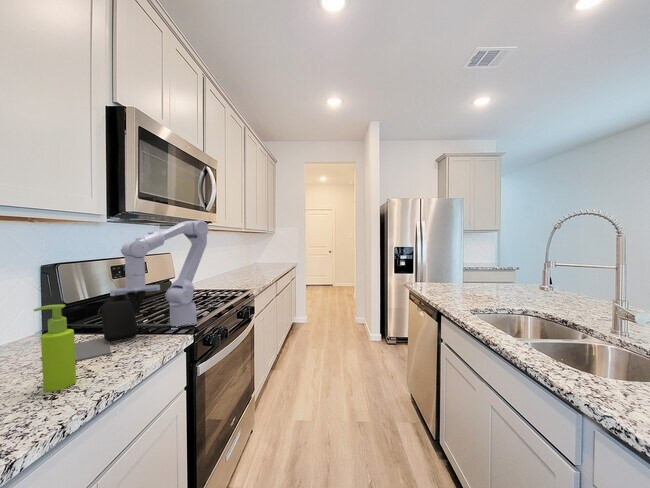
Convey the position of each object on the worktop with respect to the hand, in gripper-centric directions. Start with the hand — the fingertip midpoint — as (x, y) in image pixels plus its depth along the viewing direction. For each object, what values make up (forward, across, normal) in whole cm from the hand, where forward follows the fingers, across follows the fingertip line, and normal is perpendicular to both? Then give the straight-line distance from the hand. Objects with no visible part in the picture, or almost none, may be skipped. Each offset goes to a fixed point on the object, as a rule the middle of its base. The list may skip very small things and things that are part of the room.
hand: (136, 313), depth 100 cm
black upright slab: (+9, -5, 0) cm, 10 cm away
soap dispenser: (+10, -19, -24) cm, 32 cm away
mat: (+10, -15, 0) cm, 18 cm away
